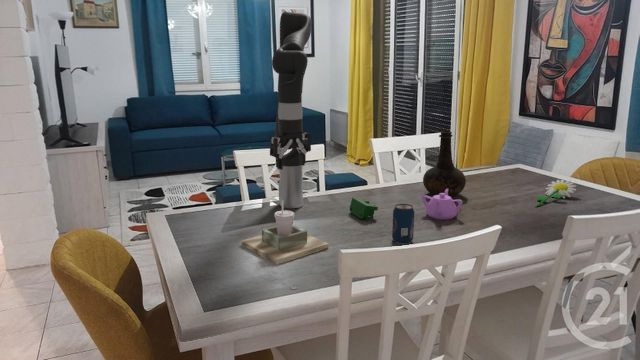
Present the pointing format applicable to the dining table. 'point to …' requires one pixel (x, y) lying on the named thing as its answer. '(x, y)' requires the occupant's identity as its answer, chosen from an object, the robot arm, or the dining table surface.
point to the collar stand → (284, 244)
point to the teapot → (441, 206)
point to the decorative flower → (558, 190)
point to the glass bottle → (444, 171)
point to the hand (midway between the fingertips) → (290, 167)
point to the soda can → (403, 223)
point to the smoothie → (284, 221)
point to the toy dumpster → (362, 208)
